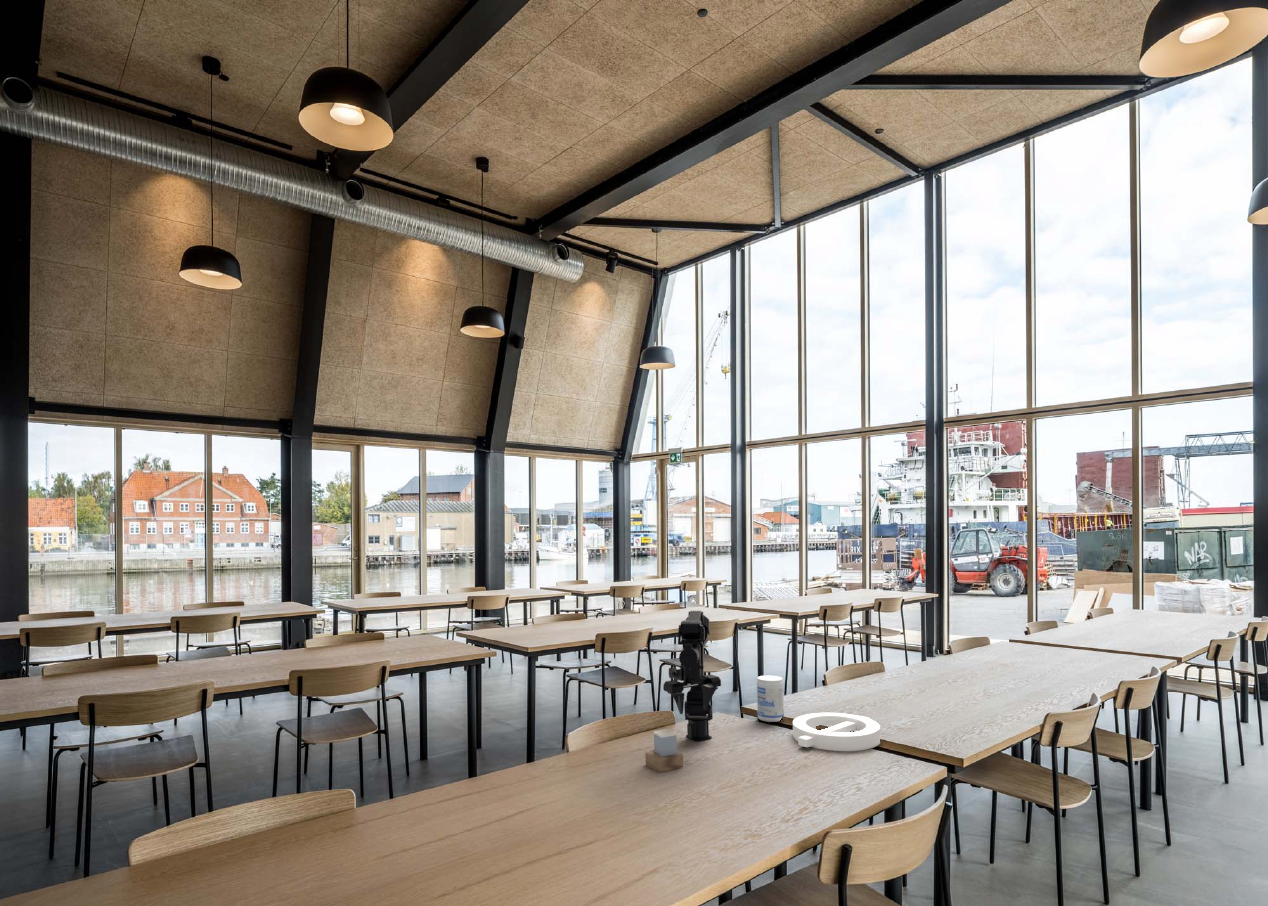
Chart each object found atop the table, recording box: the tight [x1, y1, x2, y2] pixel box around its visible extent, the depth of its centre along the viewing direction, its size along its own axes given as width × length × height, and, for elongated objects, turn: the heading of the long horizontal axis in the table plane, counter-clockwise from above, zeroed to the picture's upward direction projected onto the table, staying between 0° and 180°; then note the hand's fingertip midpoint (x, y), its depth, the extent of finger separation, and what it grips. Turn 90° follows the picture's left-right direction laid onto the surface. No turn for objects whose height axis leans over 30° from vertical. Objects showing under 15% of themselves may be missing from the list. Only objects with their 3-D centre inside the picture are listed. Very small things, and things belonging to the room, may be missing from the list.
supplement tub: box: [756, 674, 785, 723], centre depth 259 cm, size 10×10×15 cm
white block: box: [652, 728, 678, 757], centre depth 212 cm, size 5×5×6 cm
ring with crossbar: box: [792, 712, 882, 752], centre depth 235 cm, size 28×28×5 cm
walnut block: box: [645, 749, 684, 773], centre depth 211 cm, size 8×8×4 cm
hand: (693, 711), depth 224 cm, fingers open, 9 cm apart
